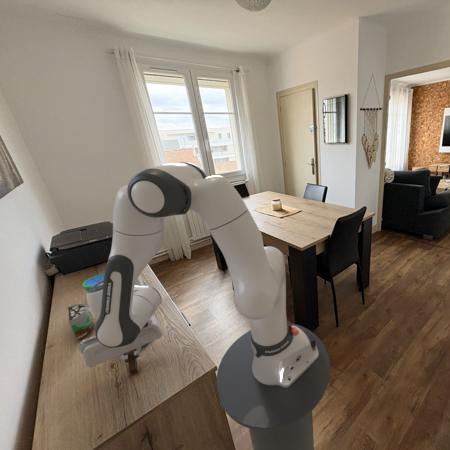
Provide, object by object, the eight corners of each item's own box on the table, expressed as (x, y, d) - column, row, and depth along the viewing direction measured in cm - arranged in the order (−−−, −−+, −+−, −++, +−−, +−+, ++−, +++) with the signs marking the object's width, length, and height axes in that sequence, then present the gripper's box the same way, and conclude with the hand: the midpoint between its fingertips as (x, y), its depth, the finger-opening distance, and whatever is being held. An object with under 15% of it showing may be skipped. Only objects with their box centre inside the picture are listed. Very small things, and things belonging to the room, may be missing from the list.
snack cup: (125, 294, 117) (118, 276, 113) (102, 308, 108) (93, 289, 104) (106, 288, 123) (99, 271, 119) (82, 300, 114) (74, 282, 110)
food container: (99, 333, 94) (89, 313, 90) (78, 342, 90) (68, 322, 87) (95, 317, 102) (86, 298, 99) (76, 325, 99) (67, 306, 95)
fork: (141, 370, 78) (138, 366, 76) (128, 377, 76) (125, 372, 74) (137, 335, 86) (134, 331, 85) (125, 340, 85) (122, 335, 83)
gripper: (73, 350, 66) (91, 384, 71) (156, 318, 77) (167, 349, 82) (77, 336, 71) (93, 368, 76) (154, 307, 82) (165, 338, 87)
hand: (132, 358), depth 79 cm, fingers closed on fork, 2 cm apart
